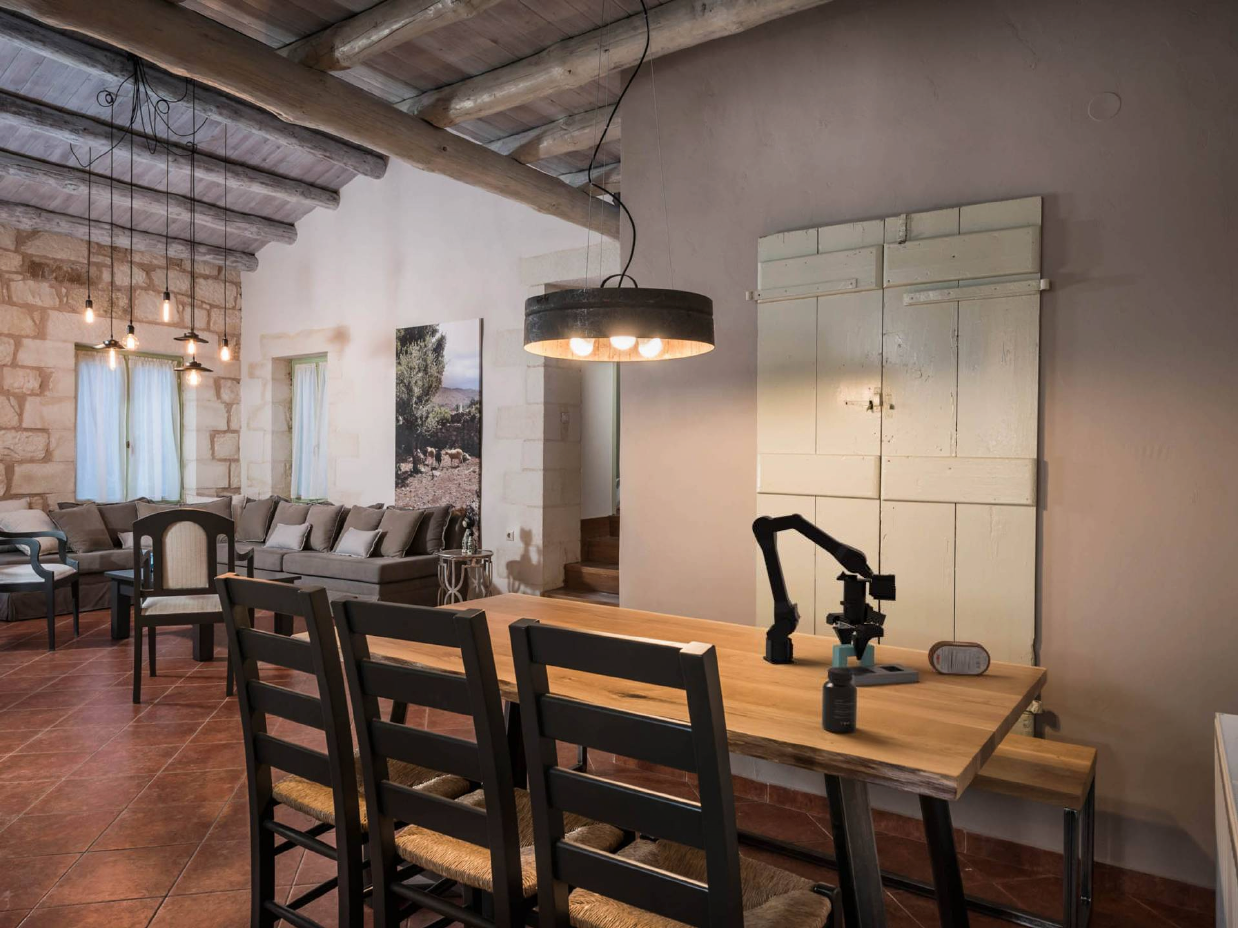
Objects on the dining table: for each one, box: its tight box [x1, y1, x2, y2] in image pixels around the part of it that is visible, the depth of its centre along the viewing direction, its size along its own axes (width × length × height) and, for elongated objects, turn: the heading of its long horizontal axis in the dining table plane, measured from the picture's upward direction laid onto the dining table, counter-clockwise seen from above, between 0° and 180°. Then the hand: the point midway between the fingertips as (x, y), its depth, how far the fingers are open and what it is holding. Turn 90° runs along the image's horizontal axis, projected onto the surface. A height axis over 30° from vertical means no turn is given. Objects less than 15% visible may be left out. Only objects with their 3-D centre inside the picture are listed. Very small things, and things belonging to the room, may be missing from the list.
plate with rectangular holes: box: [842, 663, 920, 687], centre depth 199 cm, size 18×8×2 cm, turn 106°
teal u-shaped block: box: [832, 643, 875, 667], centre depth 209 cm, size 10×3×6 cm, turn 106°
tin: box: [927, 640, 991, 677], centre depth 205 cm, size 15×3×8 cm, turn 84°
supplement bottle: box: [821, 667, 858, 735], centre depth 162 cm, size 7×7×12 cm
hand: (853, 657), depth 209 cm, fingers open, 5 cm apart
